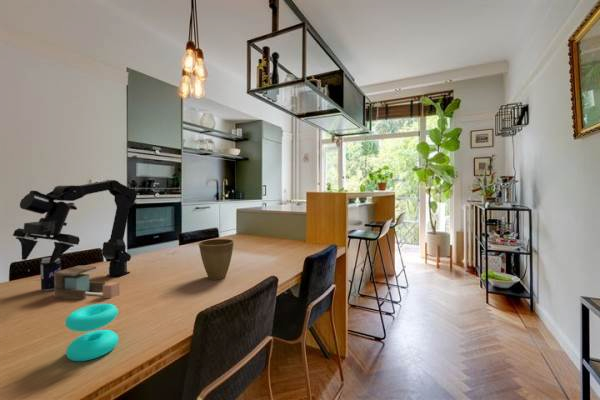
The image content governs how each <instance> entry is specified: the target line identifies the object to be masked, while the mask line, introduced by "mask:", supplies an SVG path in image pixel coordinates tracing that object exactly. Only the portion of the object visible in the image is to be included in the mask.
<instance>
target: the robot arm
mask: <svg viewBox="0 0 600 400" xmlns="http://www.w3.org/2000/svg"><path fill="white" fill-rule="evenodd" d="M106 191H108V192H109V194H111V195H112V196H114V199H113V200H114V203H115V206H116V209H115V213H114V214H115V215H114V219H113V224H112V229H111V234H110V238H109V239H108V241H104V242H103V244H102V249H101V252H102V254H101V255H102V256H103V258H105V261H106V262H107V263H108V262H109V266H108V274H106V277H113V278H114V277H115V278H120V277H123V276H125V275H128V274H130V272H131V271H128V262H130V261H131V258H132V255H130V253H129V252H127V251H126V249H127V248H126V247H127V246H126V243H125V241H124V238H125V232H126V228H127V222H128V218H129V217H128V216H129V212H130V209H131V207H132V206H133V205H134V204H135V202H136V200H137V192H136V191H135V190H134V189H133V188H130V187H129V186H127V185H125V184H122V183H121V182H119V181H117V180H116V179H106V180H103V181H97V182H92V183H87V184H81V185H79V184H78V185H57V186H55V187H54V188H53V189H52V191H50V192H48V193H46V194H45V193H42V192H40V191H37V190H30V191H29V193H28V194H26V195H25V196H24V197H23V198H21V200H20V202H19V208H20V209H22V210H24V211H29V212H32V213H36V214H40V215H44V214H45V216H44V217H41V218H40V219H39V221H32V222H31V221H30V222H24V223H23V228H17V229H15V230H14V232H13V233H12V236H13V237H15V239H16V240H18V242H20V246H21V260H23V261H26V260H27V259H28V257H29V256H30V255H31V253H32V251H33V250H34V248H35V247H36V245H37V244H38V240H37V239H42V240H50V241H54V242H53V245H54V248H53V250H52V253H51V255H50V257H51V258H50V262H49V263H53V262H54V261H55V260H57V259H58V258H59V259H60V257H61V256H62V255H63V254H64V253H66V251H68V250H69V249H71V247H75V245H77V246H78V245H79V243H80V241H81V240H80V237H79V236H78V235H77V236H76V235H72V234H67V233H61V232H62V230H63V227H64V226H65V227H67V224H68V223H67V222H66V220H67V217H68V215H69V212H70V210H74V211H75V210H78V208H77V206H76V205H75V202H73V201H77V200H79V199H81V198H83V197H85V196H87V195H92V194H96V193H100V192H106ZM56 201H58V202H56ZM65 201H66V202H65ZM67 202H68V203H67Z"/></svg>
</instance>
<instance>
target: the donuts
mask: <svg viewBox="0 0 600 400" xmlns="http://www.w3.org/2000/svg"><path fill="white" fill-rule="evenodd" d="M118 313H119V309H118V307H117V306H116V305H114V304H111V303H95V304H90V305H87V306H82V307H81V308H78V309H76V310H74V311H73V312H71V313H70V314H69V315H68V316H67V317H66V319H65V327H66V328H68V329H69V330H71V331H73V332H86V333H84V334H81V335H80V336H78V337H76V338H75V339H73V340H72V341H71V342H70V343H69V345H68V346H67V347H66V351H65V355H66V357H67V358H68V359H69V360H70V361H74V362H87V361H90V360H94V359H97V358H100V357H102V356H104V355H106V354H108V353H110V352H111V351H113V349H114V348H115V347H116V346H117V344H118V343H119V335H118V334H117V333H116V332H115V331H113V330H109V329H100V328H103V327H105V326H108V325H109V324H110V323H112V322H113V320H115V319H116V317H117V316H118ZM97 329H98V330H97Z"/></svg>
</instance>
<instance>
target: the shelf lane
mask: <svg viewBox="0 0 600 400" xmlns="http://www.w3.org/2000/svg"><path fill="white" fill-rule="evenodd" d="M93 270H97V266H91V265H75V266H73V267H68V268H65V269H61V271H57V272H54V290H53V291H54V298H61V299H73V300H86V298H87V297H86V290H75V289H65V278H66V277H69V276H75V275H78V274H85V273H87V272H90V271H93ZM104 284H107V283H106V282H103V281H90V280H89V289H90V291H100V292H103V285H104Z"/></svg>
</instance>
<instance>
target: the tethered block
mask: <svg viewBox="0 0 600 400" xmlns="http://www.w3.org/2000/svg"><path fill="white" fill-rule="evenodd" d="M89 281H90V274H85V273H81V274H78V275H75V276H69V277H66V278H65V289H75V290H86V295H87V296H99V297H102V298H103V299H104V298H105V299H113V298H115V297H117V296H119V295H120V282H117V281H110V282H107V283H106V284H104V285H103V291H102V292H95V291H94V292H91V290H90V289H89Z"/></svg>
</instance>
